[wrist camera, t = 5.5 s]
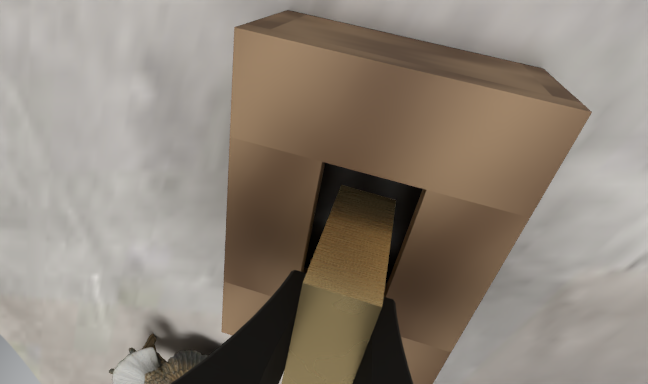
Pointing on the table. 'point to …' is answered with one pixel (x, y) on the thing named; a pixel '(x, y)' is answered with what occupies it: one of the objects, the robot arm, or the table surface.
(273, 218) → the box
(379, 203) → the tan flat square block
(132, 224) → the table surface
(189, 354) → the eagle figurine
